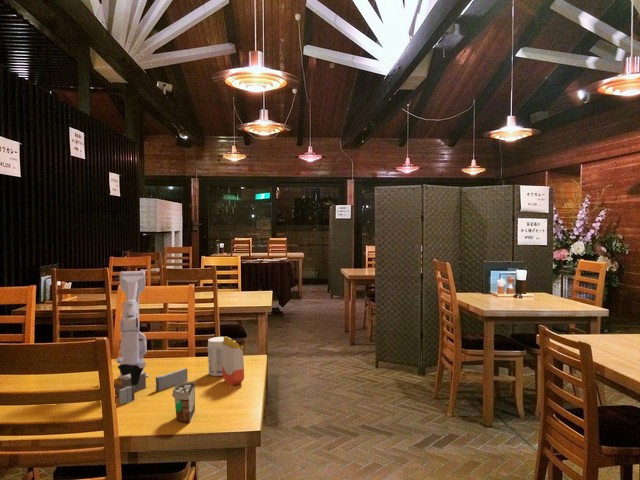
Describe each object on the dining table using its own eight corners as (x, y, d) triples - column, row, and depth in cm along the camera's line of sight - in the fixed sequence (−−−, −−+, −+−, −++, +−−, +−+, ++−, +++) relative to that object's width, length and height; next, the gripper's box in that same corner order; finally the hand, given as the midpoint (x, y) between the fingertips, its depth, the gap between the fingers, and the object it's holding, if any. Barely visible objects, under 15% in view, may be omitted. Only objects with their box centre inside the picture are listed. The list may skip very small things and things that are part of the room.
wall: (119, 403, 168) (118, 389, 168) (184, 380, 193) (184, 367, 193) (122, 404, 167) (121, 390, 167) (188, 381, 193) (187, 368, 192)
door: (132, 400, 171) (132, 387, 171) (111, 396, 176) (111, 382, 176) (135, 399, 172) (135, 386, 172) (114, 395, 177) (114, 381, 177)
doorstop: (120, 392, 180) (120, 376, 180) (139, 386, 187) (138, 370, 187) (127, 394, 178) (127, 378, 178) (146, 388, 185) (145, 372, 185)
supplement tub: (235, 370, 206) (234, 336, 206) (226, 377, 197) (226, 342, 196) (213, 369, 208) (213, 336, 207) (204, 376, 198) (203, 341, 198)
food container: (177, 410, 161) (176, 381, 161) (195, 410, 162) (195, 380, 161) (168, 425, 149) (168, 394, 149) (188, 425, 149) (188, 393, 149)
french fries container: (232, 377, 196) (231, 334, 195) (245, 384, 187) (244, 339, 187) (222, 380, 193) (221, 335, 193) (234, 387, 184) (233, 340, 184)
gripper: (109, 348, 182) (110, 383, 182) (133, 353, 174) (134, 390, 174) (125, 344, 188) (126, 378, 188) (149, 348, 180) (150, 384, 180)
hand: (131, 383), depth 182 cm, fingers closed on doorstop, 4 cm apart
